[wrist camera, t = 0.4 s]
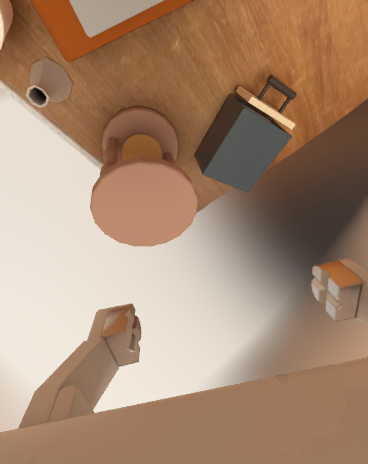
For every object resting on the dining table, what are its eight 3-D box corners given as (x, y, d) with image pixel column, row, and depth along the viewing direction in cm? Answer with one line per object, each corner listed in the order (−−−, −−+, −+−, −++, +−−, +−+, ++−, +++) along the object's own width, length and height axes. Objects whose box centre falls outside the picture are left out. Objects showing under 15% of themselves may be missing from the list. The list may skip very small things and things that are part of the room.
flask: (21, 79, 45) (2, 94, 38) (43, 48, 42) (26, 58, 35) (58, 109, 49) (46, 128, 42) (80, 83, 47) (71, 98, 40)
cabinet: (229, 93, 52) (244, 107, 46) (273, 120, 58) (292, 136, 52) (194, 154, 61) (202, 174, 54) (235, 173, 67) (247, 192, 60)
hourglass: (191, 130, 57) (218, 190, 39) (156, 187, 66) (166, 256, 48) (119, 88, 49) (114, 141, 31) (91, 160, 58) (75, 231, 40)
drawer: (252, 62, 48) (268, 70, 43) (293, 92, 54) (312, 103, 48) (203, 145, 59) (211, 161, 54) (242, 164, 64) (252, 179, 59)
